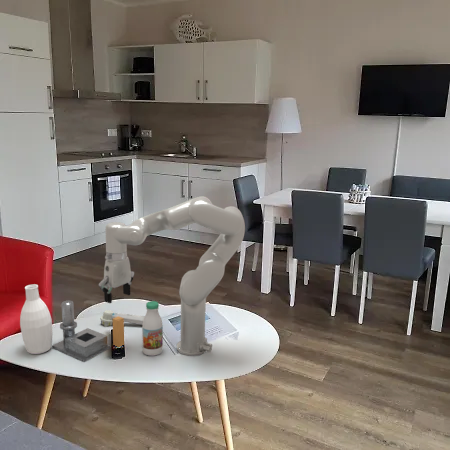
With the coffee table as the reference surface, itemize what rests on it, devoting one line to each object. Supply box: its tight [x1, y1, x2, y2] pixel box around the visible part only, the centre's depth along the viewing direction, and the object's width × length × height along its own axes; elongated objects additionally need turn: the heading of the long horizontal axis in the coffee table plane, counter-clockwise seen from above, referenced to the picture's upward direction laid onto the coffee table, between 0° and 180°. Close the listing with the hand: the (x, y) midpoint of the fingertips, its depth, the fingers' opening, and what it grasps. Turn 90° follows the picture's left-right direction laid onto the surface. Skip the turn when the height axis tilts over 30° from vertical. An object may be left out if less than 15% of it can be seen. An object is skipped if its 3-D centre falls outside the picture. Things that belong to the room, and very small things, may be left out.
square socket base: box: [51, 299, 111, 363], centre depth 176 cm, size 19×13×17 cm
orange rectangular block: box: [112, 316, 125, 347], centre depth 178 cm, size 3×3×12 cm
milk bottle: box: [141, 300, 164, 357], centre depth 175 cm, size 8×8×20 cm
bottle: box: [19, 283, 54, 355], centre depth 172 cm, size 11×11×25 cm
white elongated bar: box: [100, 309, 145, 327], centre depth 198 cm, size 5×7×25 cm
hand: (117, 298), depth 175 cm, fingers open, 9 cm apart
